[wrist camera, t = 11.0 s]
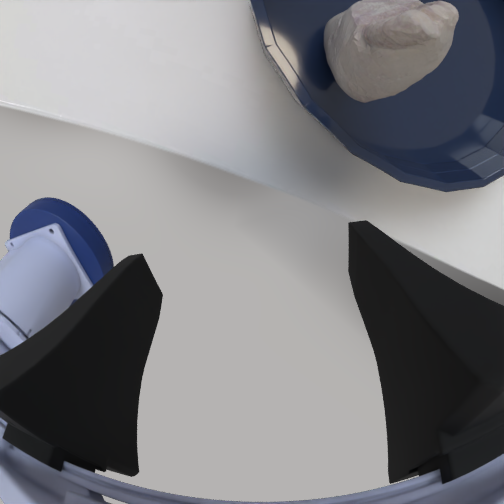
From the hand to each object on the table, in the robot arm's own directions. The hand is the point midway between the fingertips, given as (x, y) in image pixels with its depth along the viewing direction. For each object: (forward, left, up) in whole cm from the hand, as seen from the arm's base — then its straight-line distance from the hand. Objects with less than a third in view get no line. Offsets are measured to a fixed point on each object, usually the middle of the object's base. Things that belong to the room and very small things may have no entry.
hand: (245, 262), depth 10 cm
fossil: (+7, +7, -10) cm, 14 cm away
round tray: (+13, +10, -10) cm, 19 cm away
